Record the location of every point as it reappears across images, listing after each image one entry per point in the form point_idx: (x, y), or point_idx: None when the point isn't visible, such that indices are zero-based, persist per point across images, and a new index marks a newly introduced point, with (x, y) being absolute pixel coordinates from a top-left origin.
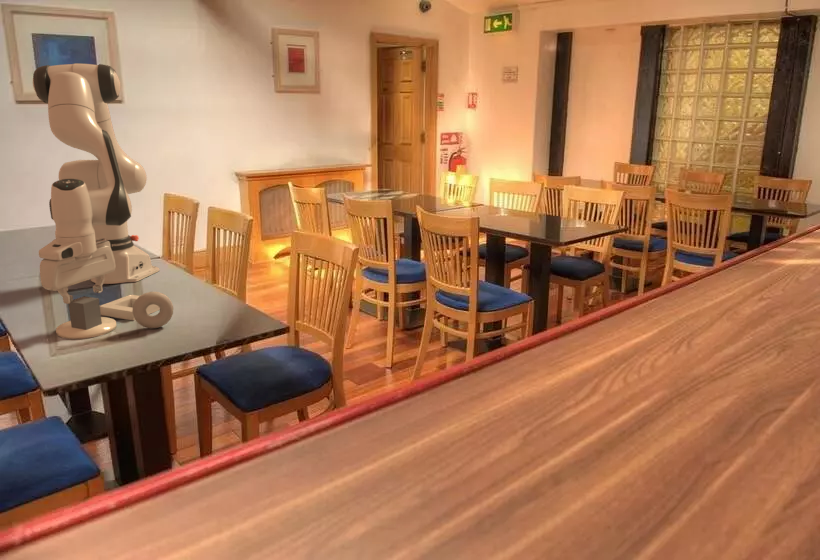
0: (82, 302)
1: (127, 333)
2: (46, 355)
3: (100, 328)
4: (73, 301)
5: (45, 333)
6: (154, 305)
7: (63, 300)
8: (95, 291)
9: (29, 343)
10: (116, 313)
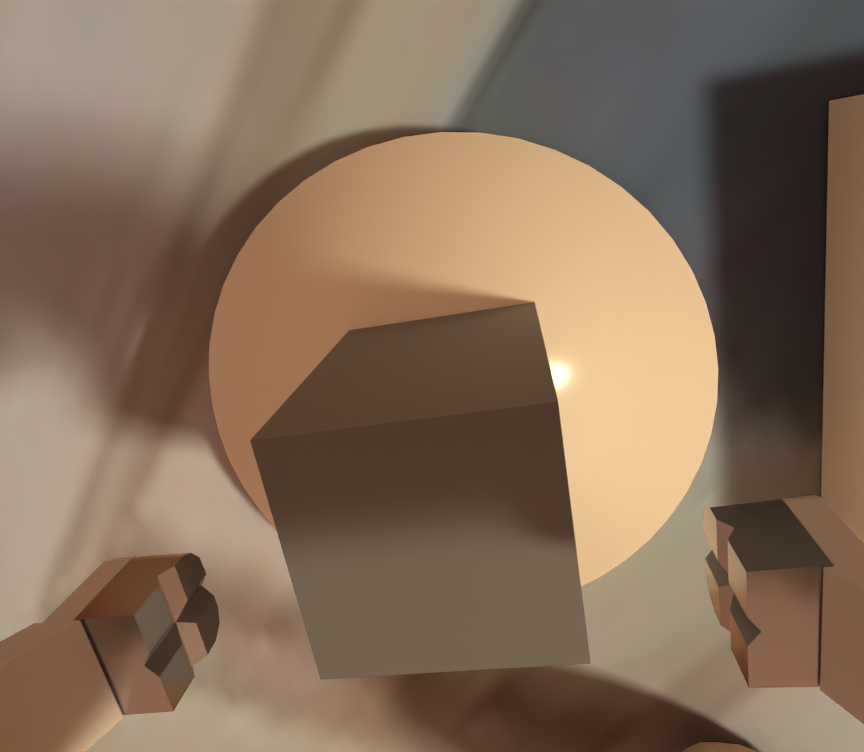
0: (349, 630)
1: (560, 696)
2: (23, 585)
3: None
4: (300, 499)
5: (184, 174)
6: None
7: (91, 584)
8: (714, 549)
9: (9, 294)
10: (849, 361)
